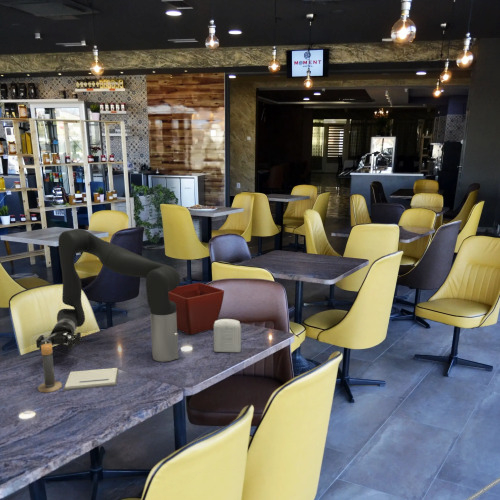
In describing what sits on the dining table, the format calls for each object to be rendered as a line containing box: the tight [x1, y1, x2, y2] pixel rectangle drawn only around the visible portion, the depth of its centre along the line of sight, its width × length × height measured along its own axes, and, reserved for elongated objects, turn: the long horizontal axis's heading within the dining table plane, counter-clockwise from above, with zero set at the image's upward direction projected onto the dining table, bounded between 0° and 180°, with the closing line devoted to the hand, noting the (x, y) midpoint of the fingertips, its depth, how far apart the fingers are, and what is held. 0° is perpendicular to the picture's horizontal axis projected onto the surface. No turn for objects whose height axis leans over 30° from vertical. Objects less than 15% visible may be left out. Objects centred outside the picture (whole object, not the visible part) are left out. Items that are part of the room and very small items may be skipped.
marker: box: [40, 343, 56, 388], centre depth 155 cm, size 3×3×14 cm
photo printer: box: [213, 318, 242, 353], centre depth 184 cm, size 10×4×12 cm, turn 86°
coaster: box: [37, 380, 63, 394], centre depth 156 cm, size 7×7×1 cm
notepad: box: [63, 367, 120, 391], centre depth 161 cm, size 16×12×1 cm
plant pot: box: [169, 282, 225, 335], centre depth 208 cm, size 19×19×17 cm
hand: (55, 347), depth 165 cm, fingers open, 8 cm apart
